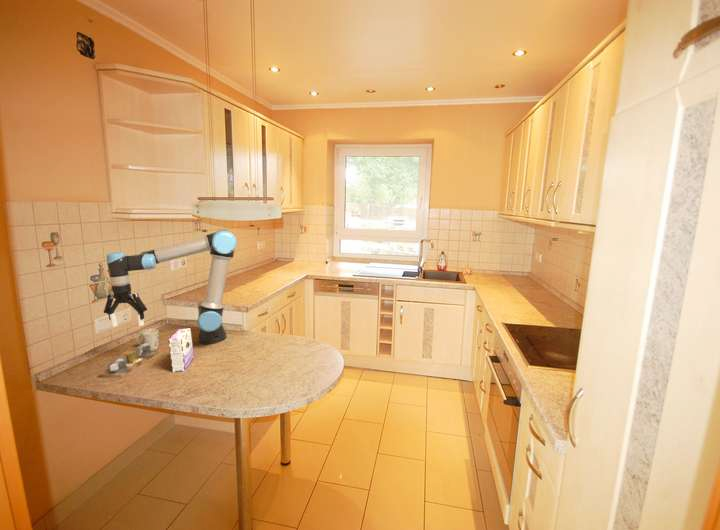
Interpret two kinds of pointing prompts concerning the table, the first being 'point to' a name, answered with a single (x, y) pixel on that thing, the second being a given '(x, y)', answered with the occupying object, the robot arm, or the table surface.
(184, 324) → the table surface
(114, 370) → the shaft bed
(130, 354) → the block
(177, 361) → the candy box
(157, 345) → the mug
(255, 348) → the table surface
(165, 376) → the table surface
